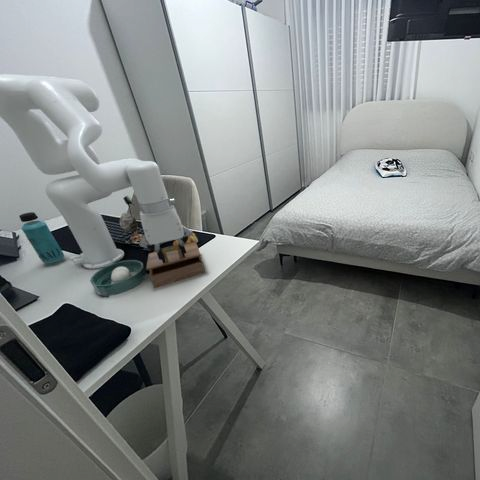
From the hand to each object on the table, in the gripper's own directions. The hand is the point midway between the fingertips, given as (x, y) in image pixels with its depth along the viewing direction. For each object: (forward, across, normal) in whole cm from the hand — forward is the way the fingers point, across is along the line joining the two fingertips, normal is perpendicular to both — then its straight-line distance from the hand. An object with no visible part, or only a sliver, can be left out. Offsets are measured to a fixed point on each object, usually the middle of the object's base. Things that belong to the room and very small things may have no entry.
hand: (173, 257), depth 84 cm
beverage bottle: (+9, +40, -37) cm, 55 cm away
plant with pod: (+9, +14, -41) cm, 44 cm away
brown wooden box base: (+9, 0, -5) cm, 10 cm away
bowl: (+9, +17, -8) cm, 21 cm away
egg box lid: (+2, 0, -5) cm, 5 cm away
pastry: (+9, -5, -25) cm, 27 cm away
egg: (+8, +17, -8) cm, 20 cm away
